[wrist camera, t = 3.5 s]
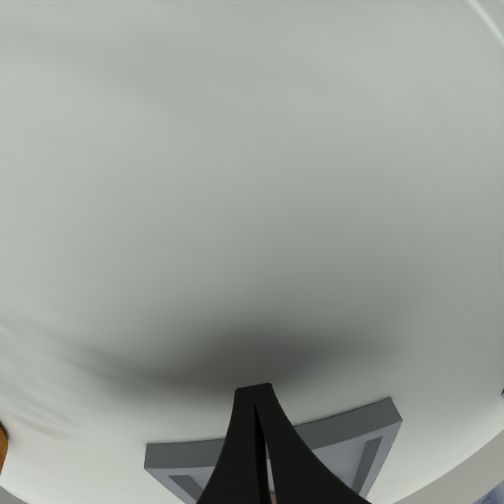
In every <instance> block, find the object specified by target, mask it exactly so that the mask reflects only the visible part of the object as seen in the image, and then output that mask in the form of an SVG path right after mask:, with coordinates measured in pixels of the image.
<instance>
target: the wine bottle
mask: <svg viewBox="0 0 504 504" xmlns="http://www.w3.org/2000/svg"><path fill="white" fill-rule="evenodd" d="M7 449H8V443H7V438H6V436H5V434H4V432H3V430H2V429H1V427H0V474H1V471H2V467H3V464H4V461H5V457H6V454H7Z"/></svg>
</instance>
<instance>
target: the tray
mask: <svg viewBox="0 0 504 504" xmlns="http://www.w3.org/2000/svg"><path fill="white" fill-rule="evenodd" d="M401 423H402V418H401V416H400V414H399V412H398V410H397V409H396V407H395V405H394V403H393V401H392V399H391V398H388V399H385V400H382V401H379V402H377V403H374V404H371V405H368V406H365V407H362V408H359V409H356V410H353V411H350V412H347V413H343V414H340V415H337V416H333V417H330V418H326V419H322V420H318V421H315V422H311V423H307V424H303V425H298V426H294V429H295V430H296V432H297V433H298V434H299V436H300V437H301V438H302V440H303V441H304V442H305V444H306V445H307V446H308V447H309V448H310V450H311V451H312V452H313V453H314V454H315V455H316V456H317V458H318V459H319V460H320V461H321V462H322V463H323V464H324V465H325V466H326V467H327V468H328V469H329V470H330V471H331V472H332V473H333V474H334V475H336V476H337V477H339V478H340V479H341V481H342V482H343V483H345V484H346V485H347V486H348V487H349V488H351V489H352V490H353V491H355V492H356V493H357V494H359V495H360V496H361V497H363V498H364V499H365V498H366V496H367V495H368V493H369V491H370V489H371V487H372V485H373V484H374V482H375V480H376V478H377V476H378V474H379V472H380V470H381V468H382V466H383V464H384V462H385V460H386V458H387V455H388V453H389V451H390V449H391V447H392V444H393V442H394V440H395V438H396V435H397V433H398V430H399V428H400V425H401ZM224 441H225V439H217V440H208V441H197V442H184V443H164V444H147V446H146V454H145V462H144V469H145V470H146V471H147V472H148V473H149V474H151V475H152V476H153V477H154V478H155V479H156V480H157V481H159V482H160V483H161V484H162V485H163V486H164V487H166V488H167V489H168V490H169V491H170V492H172V493H173V494H174V495H175V496H177V497H178V498H179V499H181V500H182V501H183V502H184V503H186V504H196V502H197V501H198V499H199V497H200V496H201V494H202V492H203V490H204V488H205V487H206V485H207V483H208V481H209V479H210V477H211V475H212V472H213V470H214V468H215V466H216V463H217V461H218V458H219V456H220V453H221V450H222V447H223V444H224ZM265 442H266V441H265ZM266 455H267V468H268V481H269V489H270V492H271V493H275V490H274V483H273V477H272V471H271V464H270V458H269V453H268V449H267V444H266Z"/></svg>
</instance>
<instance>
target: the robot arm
mask: <svg viewBox="0 0 504 504" xmlns="http://www.w3.org/2000/svg"><path fill="white" fill-rule="evenodd" d="M502 398H503V399H504V393H503V395H502ZM265 441H266V442H265ZM266 444H267V449H268V453H269V458H270V464H271V471H272V477H273V483H274V490H275V496H276V503H277V504H372V503H370V502H368V501H367V500H366V499H364V498H363V497H361V496H360V495H359V494H357V493H356V492H355V491H353V490H352V489H351V488H349V487H348V486H347V485H346V484H345V483H343V482H342V481H341V480H340V479H339V478H338V477H337V476H336V475H334V474H333V473H332V472H331V471H330V470H329V469H328V468H327V467H326V466H325V465H324V464H323V463H322V462H321V461H320V460H319V459H318V458H317V456H316V455H315V454H314V453H313V452H312V451H311V450H310V448H309V447H308V446H307V445H306V444H305V442H304V441H303V440H302V438H301V437H300V436H299V434H298V433H297V432H296V430H295V429H294V427H293V426H292V424H291V423H290V421H289V419H288V418H287V416H286V415H285V413H284V411H283V409H282V408H281V406H280V404H279V402H278V400H277V398H276V395H275V393H274V390H273V387H272V384H271V383H264V384H259V385H254V386H249V387H243V388H237V389H236V390H235V396H234V404H233V410H232V415H231V419H230V423H229V427H228V431H227V435H226V438H225V441H224V444H223V447H222V450H221V453H220V456H219V458H218V461H217V463H216V466H215V468H214V470H213V472H212V475H211V477H210V479H209V481H208V483H207V485H206V487H205V488H204V490H203V492H202V494H201V496H200V497H199V499H198V501H197V502H196V504H272V500H271V495H270V489H269V481H268V468H267V455H266ZM473 504H504V481H502V482H501V483H500V484H498V485H497V486H496V487H495V488H493V489H492V490H491V491H490V492H488V493H487V494H486V495H485V496H483V497H482V498H480V499H479V500H477V501H476V502H475V503H473Z"/></svg>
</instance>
